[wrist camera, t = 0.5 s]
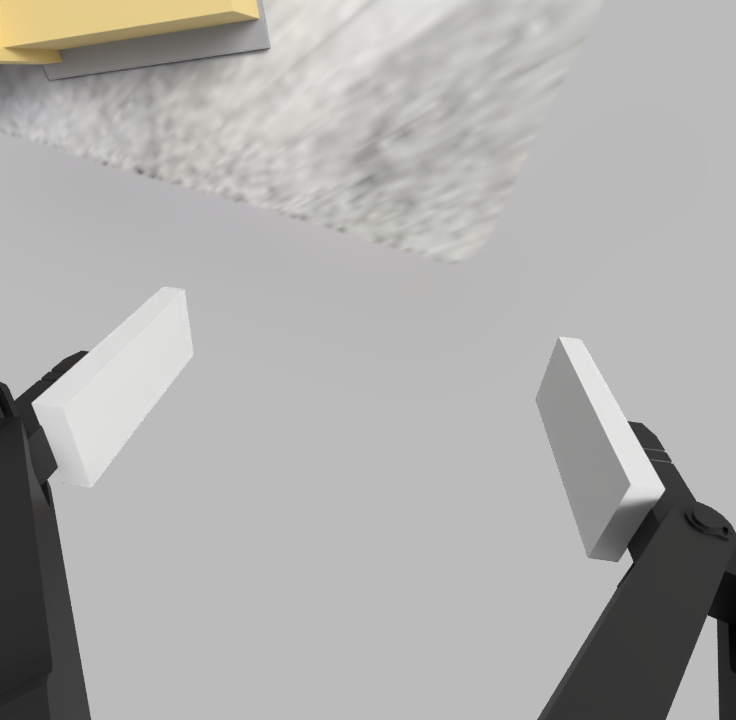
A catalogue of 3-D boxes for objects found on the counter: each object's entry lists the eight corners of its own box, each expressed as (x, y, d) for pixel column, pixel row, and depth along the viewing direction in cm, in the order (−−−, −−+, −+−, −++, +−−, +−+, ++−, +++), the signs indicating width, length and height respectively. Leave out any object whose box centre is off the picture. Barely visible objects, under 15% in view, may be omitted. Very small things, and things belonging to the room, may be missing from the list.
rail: (14, -17, 34) (-104, -41, 26) (250, -60, 31) (195, -100, 24) (52, 79, 37) (-43, 82, 29) (270, 47, 34) (227, 42, 27)
